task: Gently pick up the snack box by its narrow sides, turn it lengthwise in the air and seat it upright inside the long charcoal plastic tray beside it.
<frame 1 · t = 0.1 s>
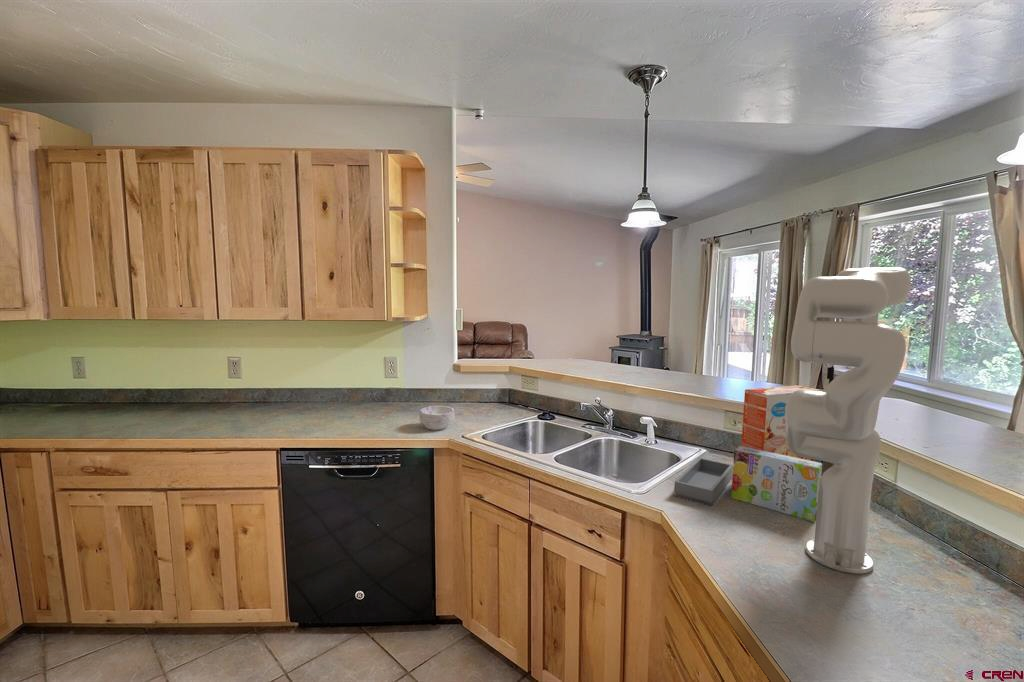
hand: (853, 384, 121), 37 cm above the counter, tool pointing down, fingers open, 9 cm apart
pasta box: (776, 482, 149), on the counter
grey bowl: (437, 427, 205), on the counter
snack box: (772, 507, 131), on the counter
tray: (704, 486, 144), on the counter
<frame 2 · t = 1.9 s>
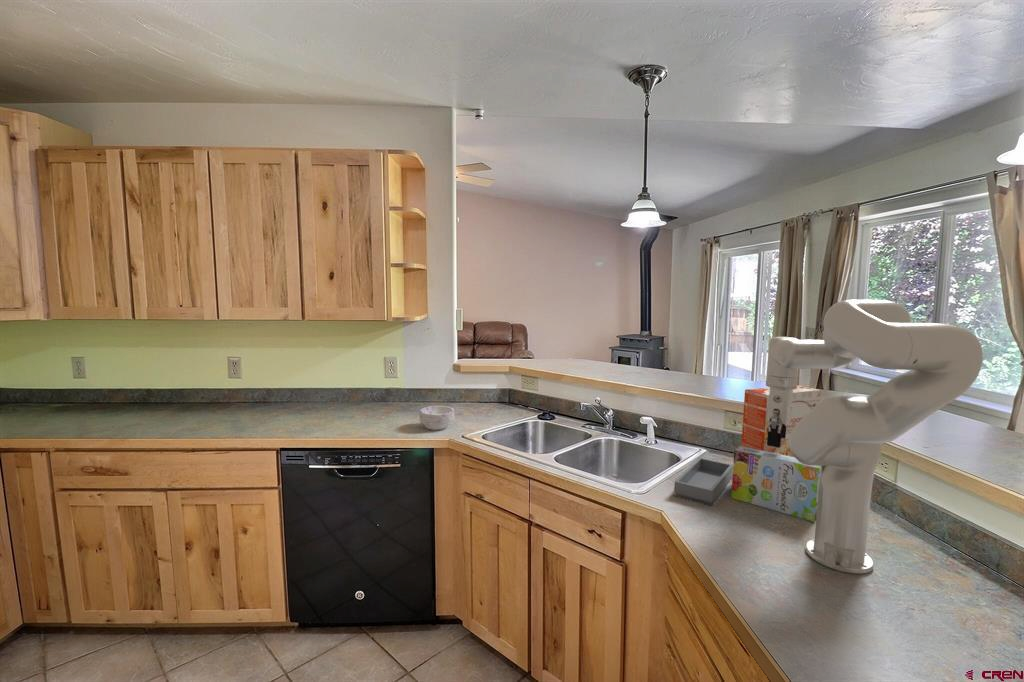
hand: (776, 441, 130), 19 cm above the counter, tool pointing down, fingers open, 9 cm apart
nothing on the counter moved.
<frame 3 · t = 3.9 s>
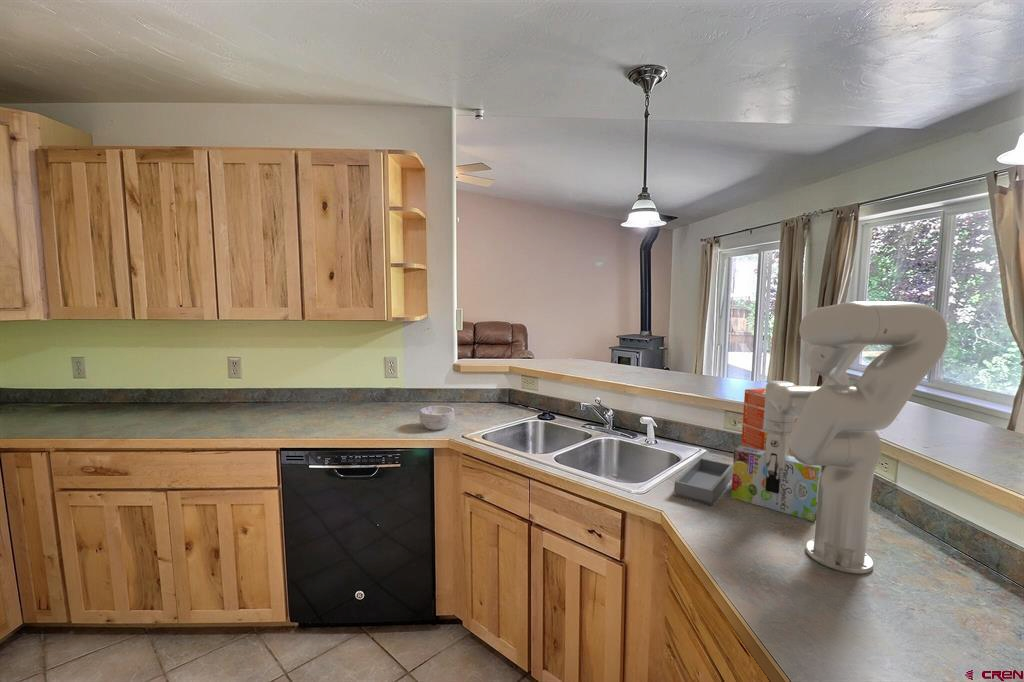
hand: (773, 487, 131), 6 cm above the counter, tool pointing down, fingers closed on snack box, 5 cm apart
snack box: (772, 507, 131), on the counter, touching gripper
everything else where it was.
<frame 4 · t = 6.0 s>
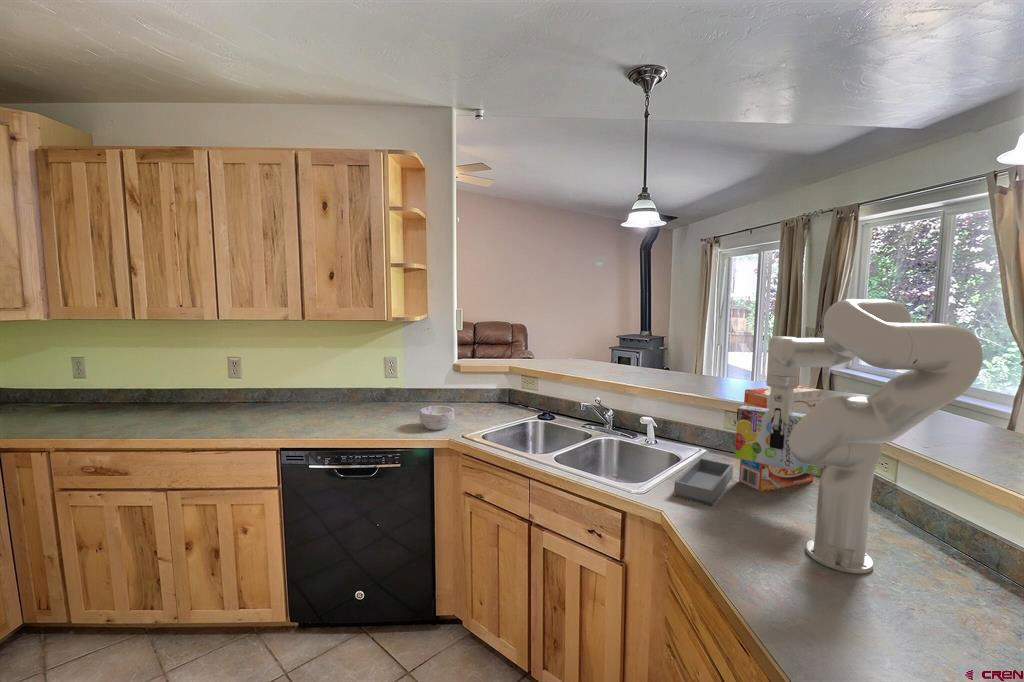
hand: (778, 444, 129), 18 cm above the counter, tool pointing down, fingers closed on snack box, 5 cm apart
snack box: (777, 465, 129), point 12 cm above the counter, touching gripper
everything else where it was.
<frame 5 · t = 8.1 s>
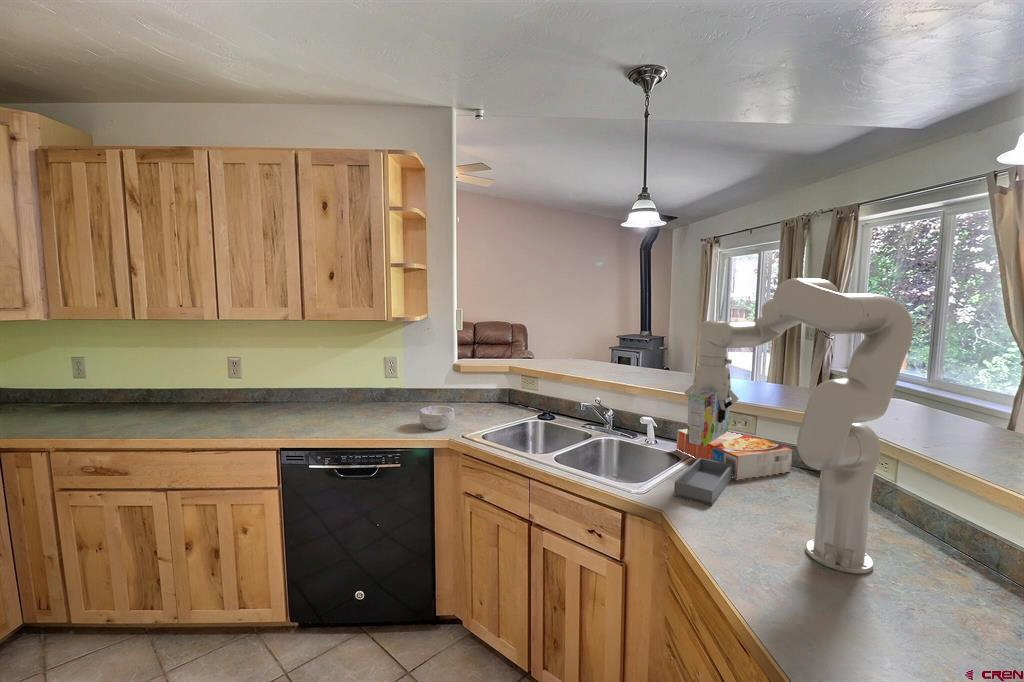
hand: (709, 419, 142), 22 cm above the counter, tool pointing down, fingers closed on snack box, 5 cm apart
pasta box: (765, 464, 153), point 4 cm above the counter
snack box: (708, 437, 143), point 16 cm above the counter, touching gripper
everything else where it was.
when the fingers open (8 cm above the counter, at t = 11.6 s): snack box drops 1 cm, resting on tray.
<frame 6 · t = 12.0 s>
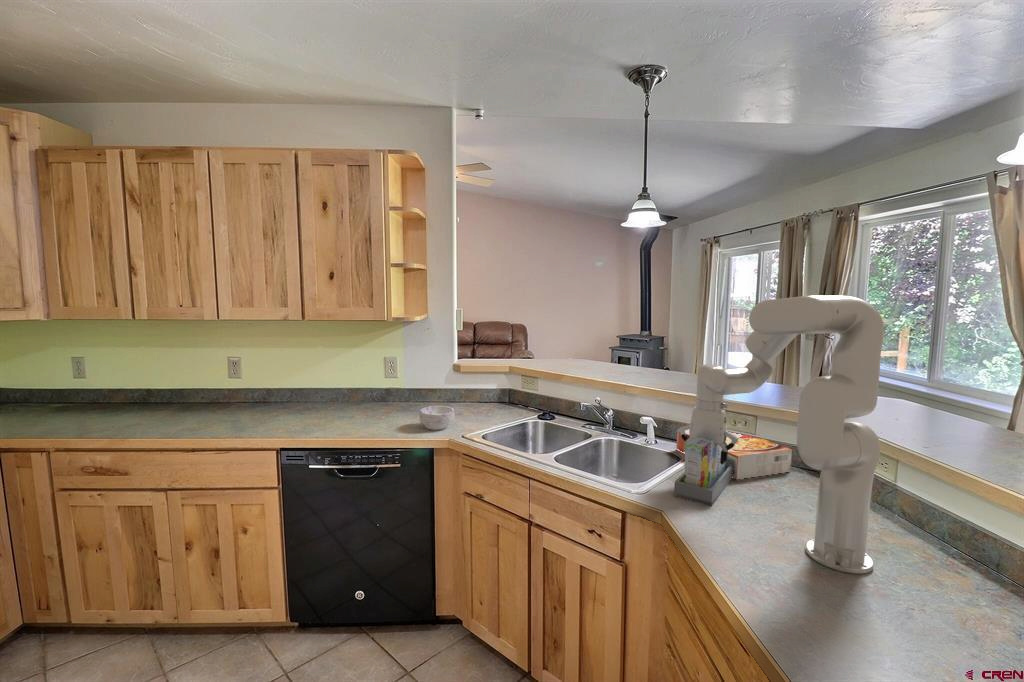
hand: (706, 459, 143), 9 cm above the counter, tool pointing down, fingers open, 9 cm apart
snack box: (704, 484, 144), point 1 cm above the counter, touching tray
everything else where it was.
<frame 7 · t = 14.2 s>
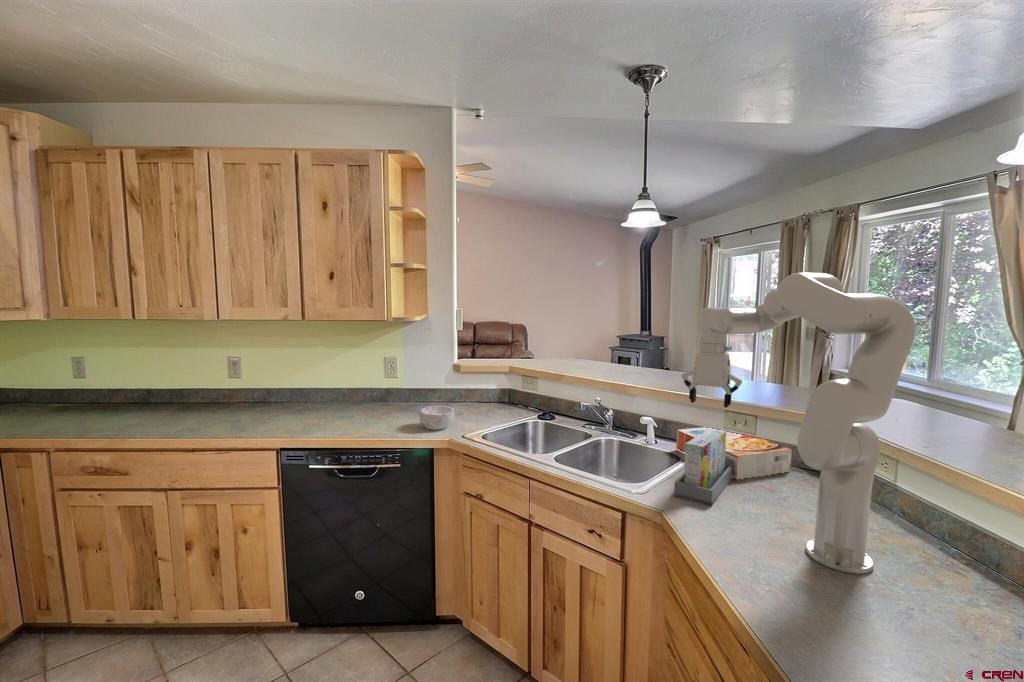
hand: (709, 404, 141), 26 cm above the counter, tool pointing down, fingers open, 9 cm apart
nothing on the counter moved.
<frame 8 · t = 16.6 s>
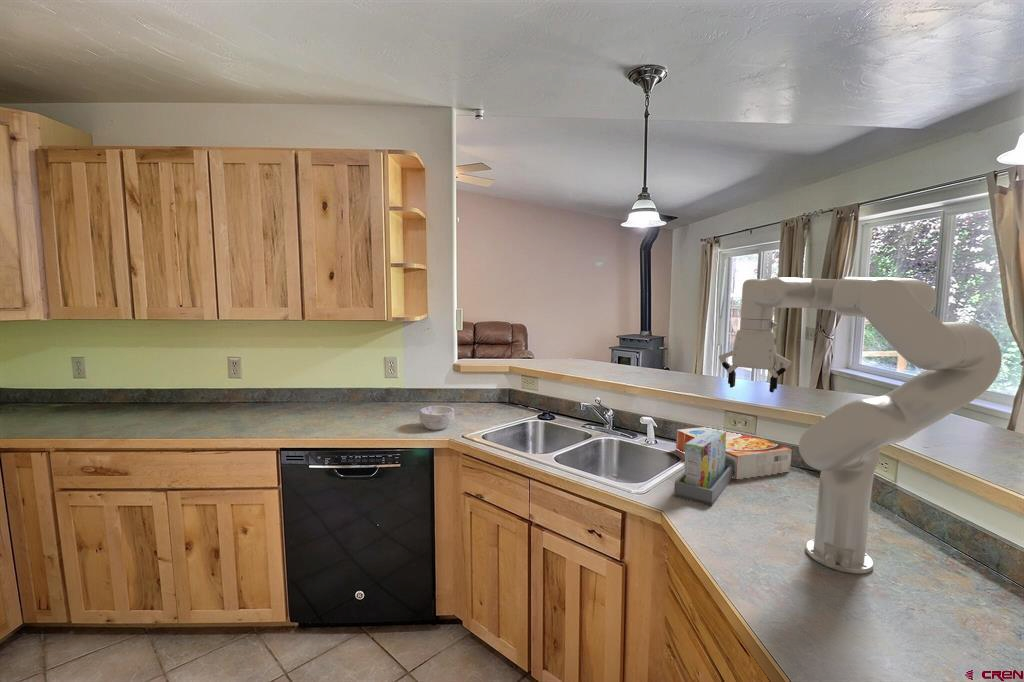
hand: (751, 389, 125), 34 cm above the counter, tool pointing down, fingers open, 9 cm apart
nothing on the counter moved.
at the end: snack box 0.1 cm off-centre on the tray, point 0.8 cm above the tray's base; snack box tilted 0°; the gripper is holding nothing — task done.
